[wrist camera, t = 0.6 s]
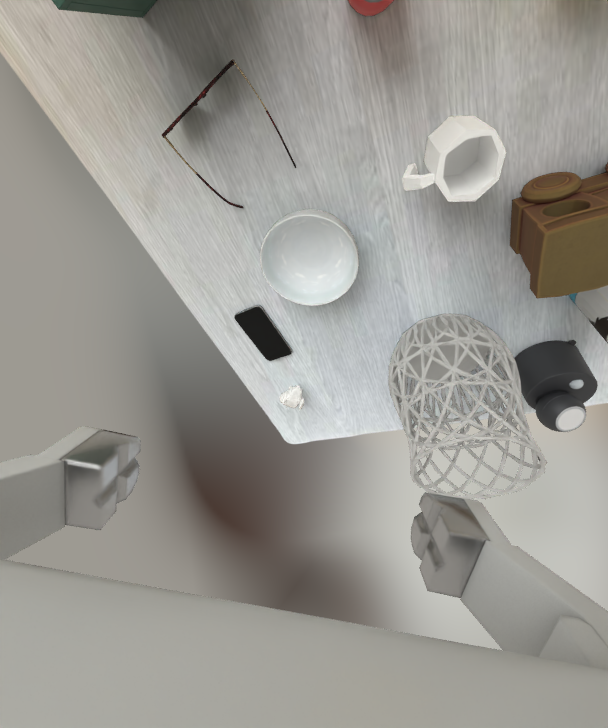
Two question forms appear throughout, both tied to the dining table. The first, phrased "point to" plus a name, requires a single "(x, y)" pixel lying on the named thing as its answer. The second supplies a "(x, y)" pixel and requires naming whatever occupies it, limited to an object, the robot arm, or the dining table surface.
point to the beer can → (369, 6)
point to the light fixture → (556, 383)
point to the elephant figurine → (292, 397)
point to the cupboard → (107, 6)
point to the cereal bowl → (309, 257)
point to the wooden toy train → (563, 233)
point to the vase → (449, 362)
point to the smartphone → (263, 333)
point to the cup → (594, 308)
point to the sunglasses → (197, 104)
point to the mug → (460, 159)
